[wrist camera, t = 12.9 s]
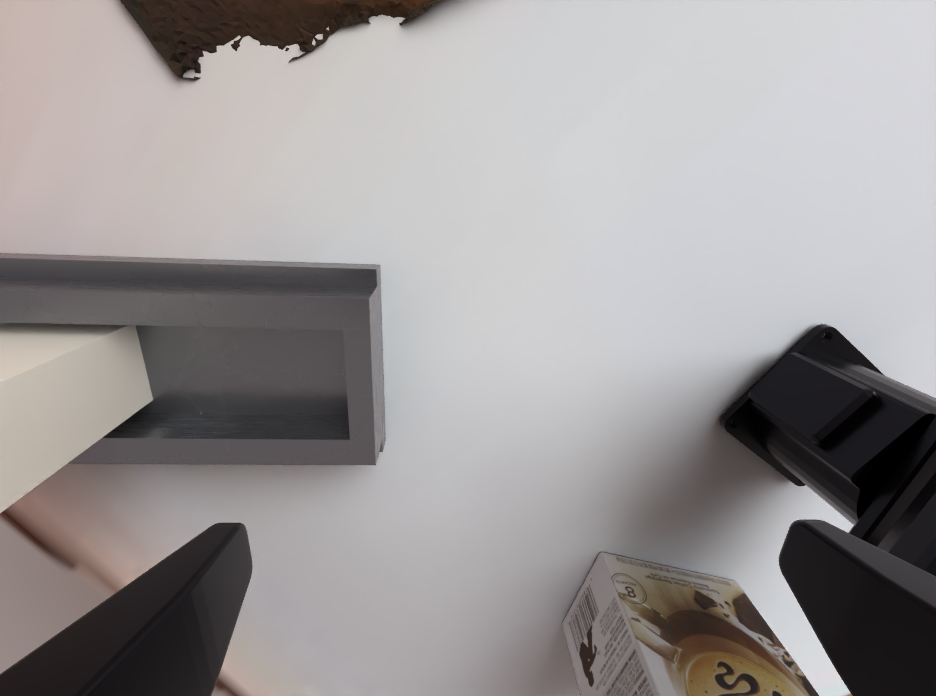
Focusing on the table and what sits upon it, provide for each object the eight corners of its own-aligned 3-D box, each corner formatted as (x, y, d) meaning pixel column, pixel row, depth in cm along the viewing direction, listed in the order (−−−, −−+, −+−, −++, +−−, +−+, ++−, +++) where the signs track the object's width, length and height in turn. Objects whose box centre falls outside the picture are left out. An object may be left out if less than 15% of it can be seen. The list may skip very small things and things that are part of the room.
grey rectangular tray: (380, 264, 18) (368, 279, 16) (385, 439, 21) (376, 479, 19) (-40, 251, 17) (-134, 265, 15) (26, 437, 20) (-40, 477, 18)
